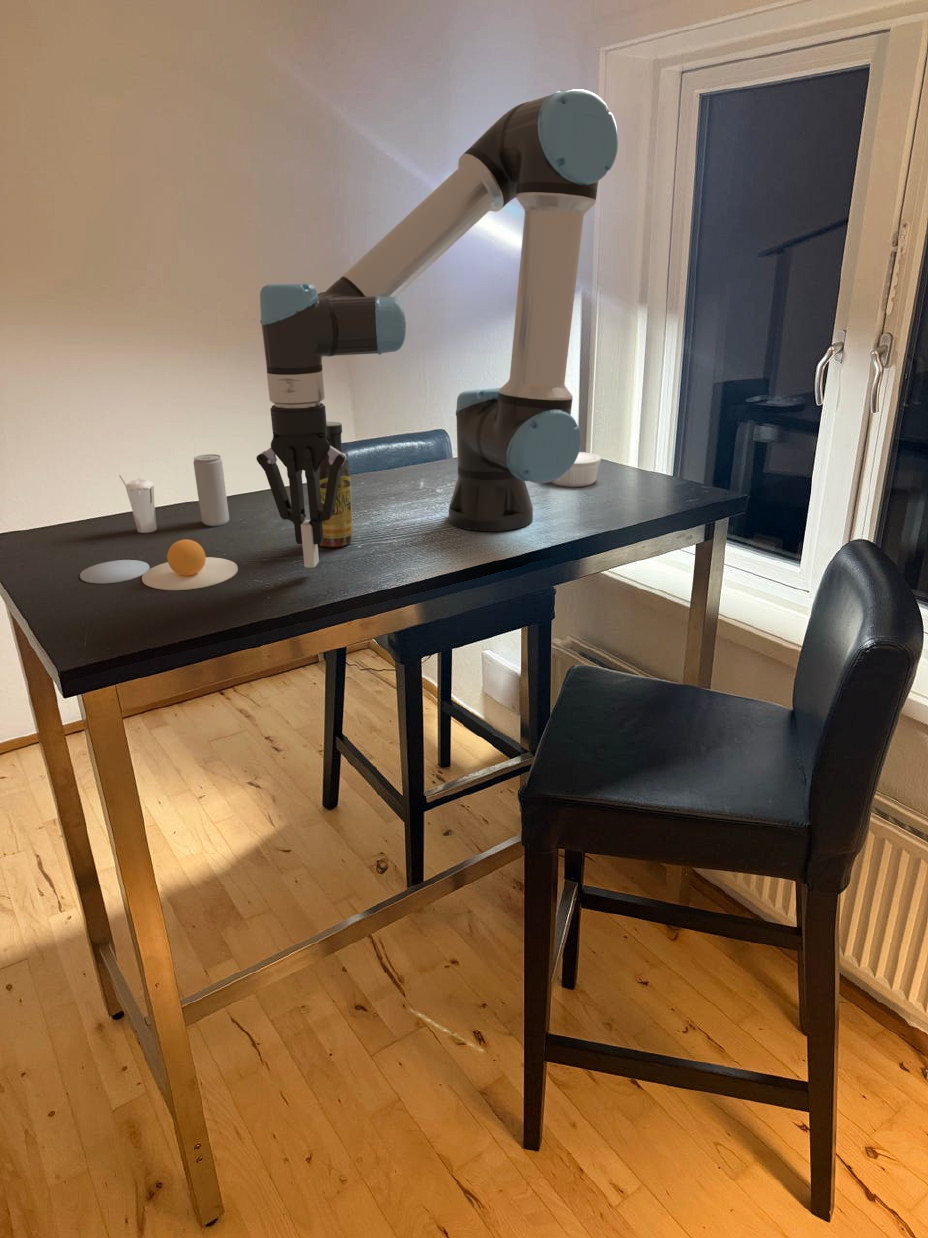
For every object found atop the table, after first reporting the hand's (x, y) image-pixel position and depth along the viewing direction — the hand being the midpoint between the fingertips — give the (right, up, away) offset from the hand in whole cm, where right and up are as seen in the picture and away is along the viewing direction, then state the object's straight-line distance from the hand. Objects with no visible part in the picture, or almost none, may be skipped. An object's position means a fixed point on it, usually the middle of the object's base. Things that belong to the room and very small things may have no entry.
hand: (311, 564), depth 127 cm
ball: (-19, +1, +1) cm, 19 cm away
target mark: (-19, -1, +3) cm, 19 cm away
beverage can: (-22, +9, +27) cm, 36 cm away
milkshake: (-34, +7, +23) cm, 42 cm away
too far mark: (-31, -1, +4) cm, 31 cm away
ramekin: (+46, +20, +51) cm, 72 cm away
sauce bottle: (+1, +4, +15) cm, 16 cm away
